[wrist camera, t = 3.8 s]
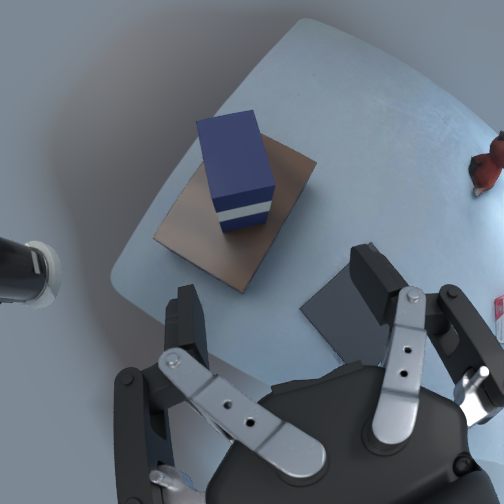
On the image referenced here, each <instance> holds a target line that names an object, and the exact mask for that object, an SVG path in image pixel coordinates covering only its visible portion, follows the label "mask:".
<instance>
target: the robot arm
mask: <svg viewBox="0 0 504 504" xmlns="http://www.w3.org/2000/svg"><path fill="white" fill-rule="evenodd" d="M349 273H350V278H351V280H352V282H353V284H354V285H355V287H356V288H357V290H358V291H359V293H360V295H361V296H362V298H363V299H364V301H365V303H366V304H367V306H368V307H369V309H370V311H371V312H372V314H373V315H374V317H375V319H376V320H377V322H378V324H379V325H380V326H383V325H385V324H388V325H389V327H390V328H389V331H388V336H387V341H386V345H385V350H384V354H383V358H382V362H381V365H380V367H379V366H374V365H363V364H362V362H361V360H358V361H355V362H352V363H349V364H346V365H343V366H340V367H338V368H336V369H335V370H333V371H332V372H330V373H328V374H326V375H325V376H323V377H321V378H319V379H309V380H293V381H289V382H285V383H281V384H278V385H273V386H271V389H272V392H271V393H270V394H267V395H266V396H265V397H263V398H262V399H261V400H259V401H258V402H257V403H256V402H255V401H253V400H252V399H251V398H249V397H248V396H247V395H245V394H244V393H243V392H241V391H240V390H239V389H237V388H236V387H235V386H233V385H232V384H231V383H229V382H228V381H226V379H224V378H223V377H222V376H220V375H218V374H216V375H214V374H213V373H211V372H210V370H209V361H208V351H207V341H206V331H205V320H204V313H203V309H202V306H201V303H200V300H199V298H198V295H197V292H196V290H195V287H194V285H193V284H191V285H187V286H182V287H178V298H177V299H172V300H170V301H169V303H168V305H167V307H166V316H165V317H166V318H165V345H164V352H163V353H162V354H161V356H160V357H159V360H158V362H157V363H156V364H155V365H153V366H151V367H149V368H147V369H144V370H142V371H140V370H138V369H137V368H134V367H129V368H125V369H123V370H122V371H120V373H119V374H118V375H117V376H116V379H115V383H114V459H115V476H116V488H117V498H118V504H500V502H499V500H498V497H497V494H496V492H495V489H494V487H493V484H492V482H491V480H490V477H489V476H488V474H487V473H486V472H485V471H484V470H483V469H482V468H481V467H480V466H479V465H478V464H477V463H476V462H475V461H474V459H473V458H472V456H471V454H470V452H469V447H468V437H467V433H468V429H469V428H471V427H473V426H474V425H476V424H479V425H482V424H485V423H487V422H488V421H489V420H490V419H492V418H493V417H494V416H495V415H496V414H497V413H499V412H500V411H501V410H502V409H503V408H504V349H503V348H502V346H501V345H500V343H499V342H498V340H497V339H496V337H495V336H494V334H493V333H492V331H491V330H490V328H489V327H488V325H487V324H486V323H485V321H484V320H483V318H482V317H481V316H480V314H479V313H478V311H477V310H476V309H475V307H474V306H473V305H472V303H471V302H470V301H469V299H468V298H467V297H466V295H465V294H464V293H463V292H462V290H461V289H460V288H458V287H457V286H455V285H451V284H447V285H444V286H442V287H441V289H440V291H439V293H432V294H424V292H423V291H422V290H421V289H419V288H417V287H413V286H409V285H408V284H407V282H406V281H405V280H404V279H403V277H402V276H401V275H400V274H399V272H398V271H397V270H396V269H394V266H393V265H392V264H390V262H389V260H388V259H387V258H386V257H385V256H384V255H382V254H381V253H379V252H377V251H374V252H373V251H372V250H371V249H370V248H369V246H368V245H367V244H362V245H358V246H354V247H352V248H351V253H350V267H349ZM48 279H49V266H48V262H47V259H46V257H45V255H44V253H43V252H42V251H41V250H39V249H37V248H34V247H29V246H26V245H23V244H20V243H17V242H14V241H11V240H8V239H5V238H2V237H0V304H1V303H2V302H6V303H13V302H21V303H25V302H26V301H27V300H29V301H33V300H36V299H38V298H39V297H40V296H41V295H42V294H43V293H44V291H45V289H46V287H47V284H48ZM453 327H454V328H453ZM455 330H456V331H455ZM456 332H457V333H458V334H457V333H456ZM427 335H428V337H429V339H430V340H431V342H432V344H433V346H434V347H435V349H436V351H437V353H438V354H439V356H440V358H441V360H442V362H443V363H444V365H445V367H446V369H447V371H448V373H449V375H450V376H451V378H452V380H453V382H454V384H455V388H454V402H453V401H452V400H450V399H447V398H445V397H443V396H441V395H439V394H437V393H435V392H432V391H430V390H428V389H426V388H424V387H422V386H420V383H421V377H422V370H423V363H424V355H425V346H426V336H427ZM458 335H459V336H458ZM183 401H185V402H186V403H187V404H188V405H190V407H191V408H193V409H194V410H195V411H196V412H197V413H198V414H199V415H200V416H201V417H202V418H203V419H204V420H206V421H207V422H208V423H209V424H210V425H211V426H212V427H213V428H214V429H215V430H216V431H217V432H218V433H219V434H220V435H221V436H223V437H224V438H225V439H226V440H227V441H229V442H230V443H231V444H232V445H231V446H230V448H229V450H228V452H227V453H226V455H225V457H224V459H223V460H222V462H221V463H220V465H219V467H218V468H217V470H216V472H215V473H214V475H213V477H212V478H211V480H210V482H209V483H208V486H207V488H206V492H199V491H198V490H197V489H196V488H195V487H194V485H193V483H192V480H191V478H190V477H189V476H188V475H187V474H186V473H184V472H182V471H181V470H179V469H177V468H175V464H174V458H173V451H172V443H171V436H170V428H169V418H168V408H170V407H172V406H174V405H176V404H178V403H181V402H183Z"/></svg>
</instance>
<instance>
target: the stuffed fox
mask: <svg viewBox="0 0 504 504" xmlns="http://www.w3.org/2000/svg"><path fill="white" fill-rule="evenodd" d="M502 168H504V132H503V131H500V134H499V136H497V137H496V138H495V139H494V140H493V141H492V143H491V145H490V153H487V154H480V155H477V156H474V157H472V159H471V164H470V166H469V172H470V175H471V177H472V180H473V182H474V185H475V188H473V190H474V193H475V195H476V196H479V195H480V194H482V192H483V191H486V190H490V189H491V188H492V187H493V186H494V184H495V182H496V180H497V179H498V177H499V175H500V173H501V171H502Z"/></svg>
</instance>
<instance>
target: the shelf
mask: <svg viewBox="0 0 504 504" xmlns="http://www.w3.org/2000/svg"><path fill="white" fill-rule="evenodd" d="M260 134H261V133H260ZM261 137H262V141H263V144H264V147H265V150H266V154H267V157H268V160H269V164H270V167H271V171H272V174H273V177H274V181H275V184H276V186H275V190H274V194H273V198H272V202H271V206H270V210H269V213H268V217H267V221H266V223H263V224H259V225H254V226H250V227H245V228H241V229H236V230H232V231H228V232H222V230H221V227H220V224H219V221H218V218H217V215H216V212H215V208H214V205H213V202H212V199H211V194H210V189H209V185H208V180H207V175H206V170H205V165H204V161H203V162H202V164H201V165H200V166H199V168H198V169H197V171H196V172H195V174H194V175H193V177H192V178H191V179H190V181H189V182H188V184H187V185H186V187H185V188H184V190H183V191H182V193H181V194H180V196H179V197H178V199H177V200H176V202H175V203H174V205H173V206H172V208H171V209H170V211H169V213H168V214H167V216H166V217H165V219H164V220H163V222H162V224H161V225H160V227H159V228H158V230H157V232H156V233H155V235H154V237H153V239H154V240H156V241H157V242H159V243H160V244H161V245H163V246H164V247H166V248H167V249H169V250H170V251H172V252H173V253H175V254H177V255H178V256H180V257H182V258H183V259H185V260H186V261H188V262H190V263H191V264H193V265H195V266H196V267H198V268H200V269H201V270H203V271H205V272H206V273H208V274H210V275H211V276H213V277H215V278H216V279H218V280H220V281H222V282H223V283H225V284H227V285H228V286H230V287H232V288H233V289H235V290H237V291H239V292H240V293H242V294H244V292H245V290H246V288H247V287H248V285H249V283H250V282H251V280H252V278H253V276H254V275H255V273H256V271H257V269H258V268H259V266H260V264H261V263H262V261H263V259H264V257H265V256H266V254H267V252H268V250H269V249H270V247H271V245H272V243H273V242H274V240H275V238H276V236H277V235H278V233H279V231H280V229H281V228H282V226H283V224H284V222H285V221H286V219H287V217H288V215H289V214H290V212H291V210H292V208H293V207H294V205H295V203H296V201H297V200H298V198H299V196H300V194H301V193H302V191H303V189H304V187H305V185H306V184H307V182H308V180H309V178H310V176H311V174H312V172H313V170H314V168H315V166H316V164H317V162H315V161H313V160H311V159H310V158H308V157H306V156H304V155H302V154H300V153H298V152H297V151H295V150H293V149H291V148H289V147H287V146H285V145H283V144H281V143H279V142H277V141H275V140H273V139H271V138H269V137H267V136H265V135H263V134H261Z"/></svg>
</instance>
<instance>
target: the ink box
mask: <svg viewBox="0 0 504 504" xmlns="http://www.w3.org/2000/svg"><path fill="white" fill-rule="evenodd" d="M495 310H496V339H497V340H498V342H499V343H504V296H501V297H499V298H497V299H495Z"/></svg>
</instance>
